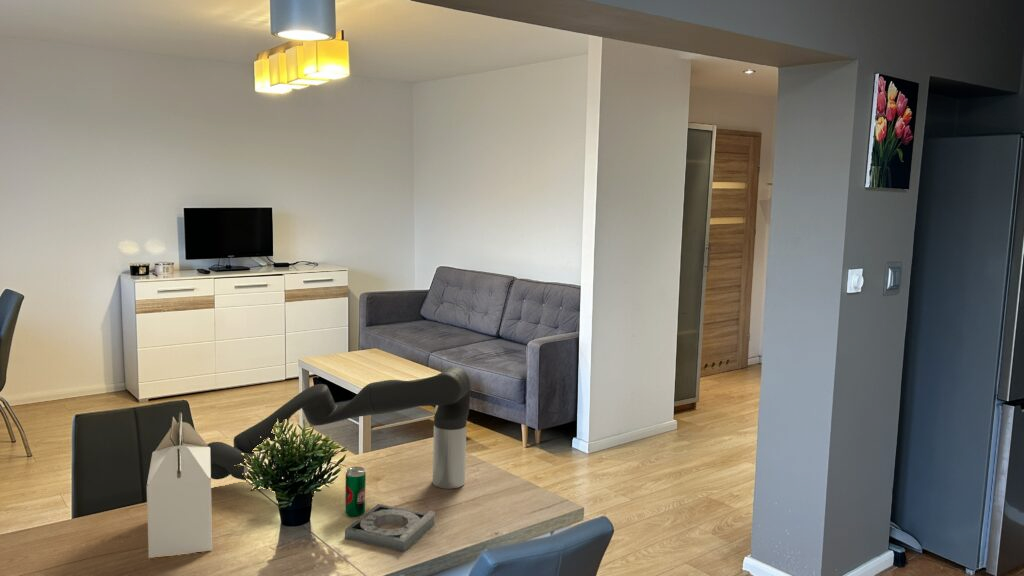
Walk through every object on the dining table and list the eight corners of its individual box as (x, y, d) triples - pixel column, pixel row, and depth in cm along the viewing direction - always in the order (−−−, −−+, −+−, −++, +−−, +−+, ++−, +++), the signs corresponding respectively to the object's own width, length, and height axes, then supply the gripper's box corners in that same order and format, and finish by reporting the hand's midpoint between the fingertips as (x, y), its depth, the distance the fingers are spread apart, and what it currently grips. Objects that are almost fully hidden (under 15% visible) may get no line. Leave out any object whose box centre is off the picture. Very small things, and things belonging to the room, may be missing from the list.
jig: (378, 513, 203) (378, 500, 203) (434, 524, 198) (434, 511, 197) (344, 538, 188) (344, 525, 188) (404, 552, 183) (404, 537, 182)
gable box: (154, 518, 195) (151, 409, 191) (211, 512, 200) (209, 406, 196) (148, 560, 175) (145, 439, 171) (212, 552, 179) (210, 434, 175)
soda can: (360, 519, 199) (361, 474, 197) (342, 516, 200) (342, 471, 198) (368, 511, 204) (368, 467, 202) (349, 509, 205) (350, 464, 203)
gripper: (248, 464, 203) (301, 475, 197) (283, 450, 216) (333, 460, 211) (247, 492, 204) (300, 504, 198) (282, 476, 217) (332, 487, 211)
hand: (317, 481), depth 204 cm, fingers open, 8 cm apart
